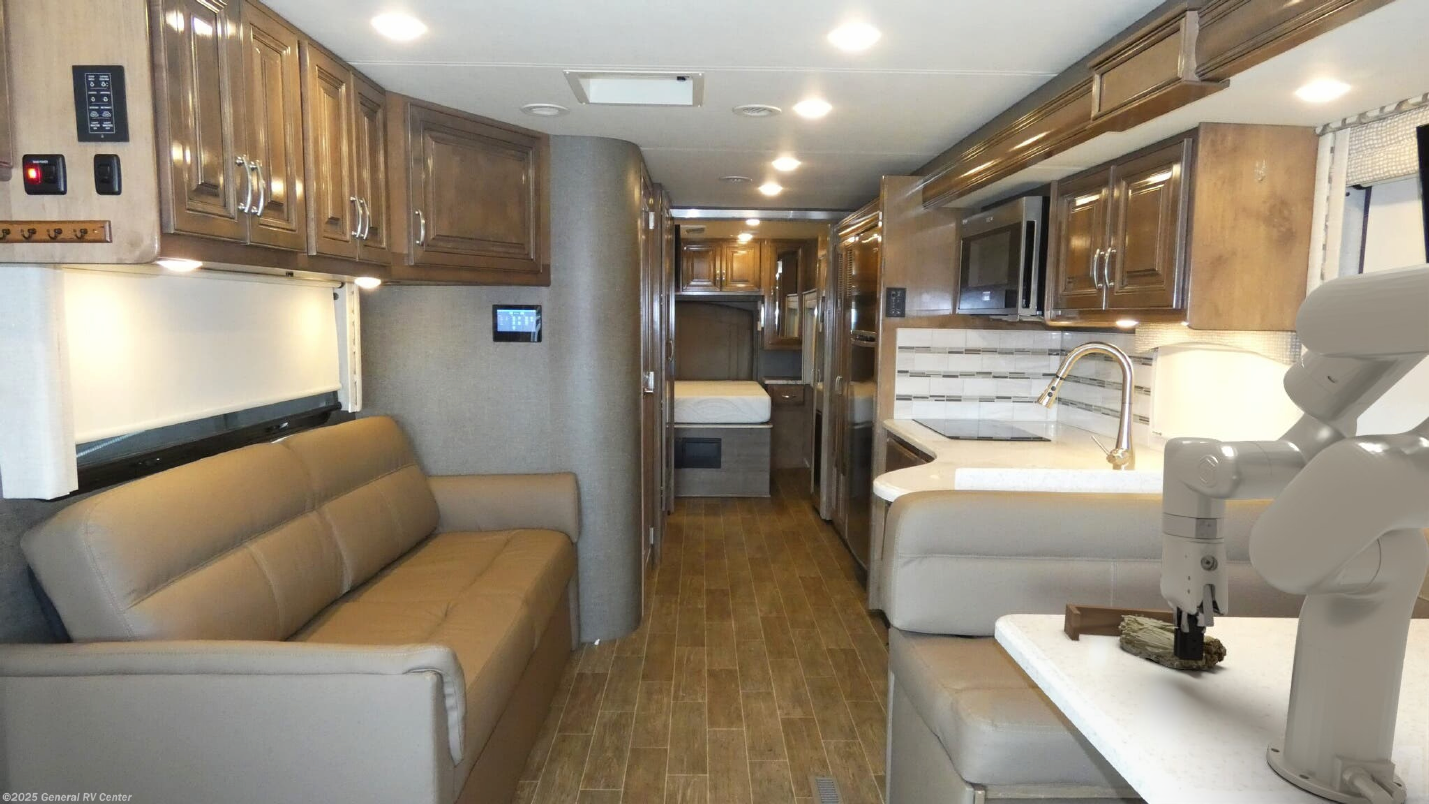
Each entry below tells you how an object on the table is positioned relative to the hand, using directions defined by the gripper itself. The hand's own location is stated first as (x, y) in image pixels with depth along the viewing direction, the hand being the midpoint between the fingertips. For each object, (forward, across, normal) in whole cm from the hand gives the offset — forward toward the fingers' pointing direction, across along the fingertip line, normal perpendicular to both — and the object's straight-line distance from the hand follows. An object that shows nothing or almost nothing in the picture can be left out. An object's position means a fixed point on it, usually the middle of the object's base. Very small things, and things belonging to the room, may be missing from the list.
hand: (1188, 658), depth 112 cm
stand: (+3, +18, +1) cm, 18 cm away
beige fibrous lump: (+4, +12, -2) cm, 13 cm away
